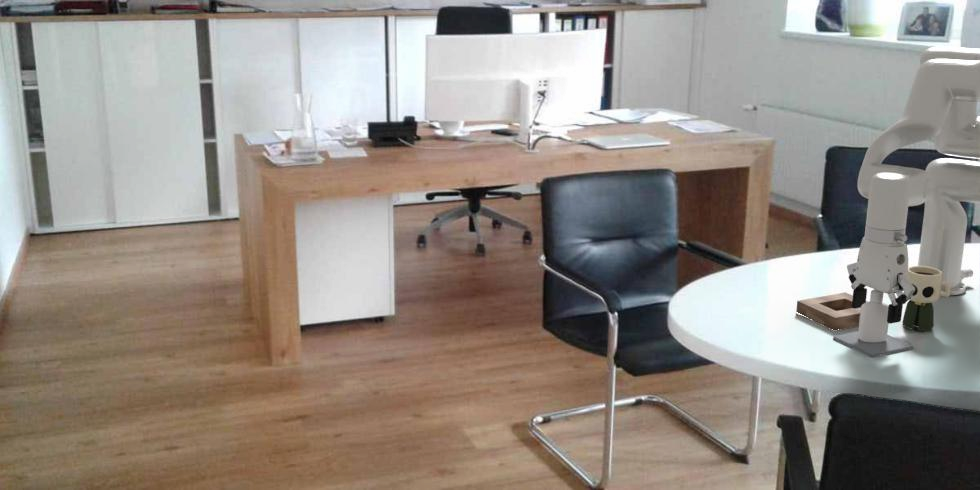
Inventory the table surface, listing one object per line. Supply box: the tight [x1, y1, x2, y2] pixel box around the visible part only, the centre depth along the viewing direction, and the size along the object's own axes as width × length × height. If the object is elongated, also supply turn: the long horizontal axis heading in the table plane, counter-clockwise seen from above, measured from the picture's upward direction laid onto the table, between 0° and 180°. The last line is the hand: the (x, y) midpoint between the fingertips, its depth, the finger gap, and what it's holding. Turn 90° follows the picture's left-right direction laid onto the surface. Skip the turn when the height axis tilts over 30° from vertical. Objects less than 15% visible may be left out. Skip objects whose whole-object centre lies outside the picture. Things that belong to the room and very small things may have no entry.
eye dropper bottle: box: [857, 289, 890, 343], centre depth 208 cm, size 4×6×12 cm
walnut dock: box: [796, 292, 869, 331], centre depth 224 cm, size 14×12×3 cm
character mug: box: [901, 265, 951, 331], centre depth 217 cm, size 11×7×13 cm, turn 59°
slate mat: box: [832, 331, 914, 358], centre depth 210 cm, size 11×11×1 cm
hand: (875, 314), depth 208 cm, fingers open, 9 cm apart
